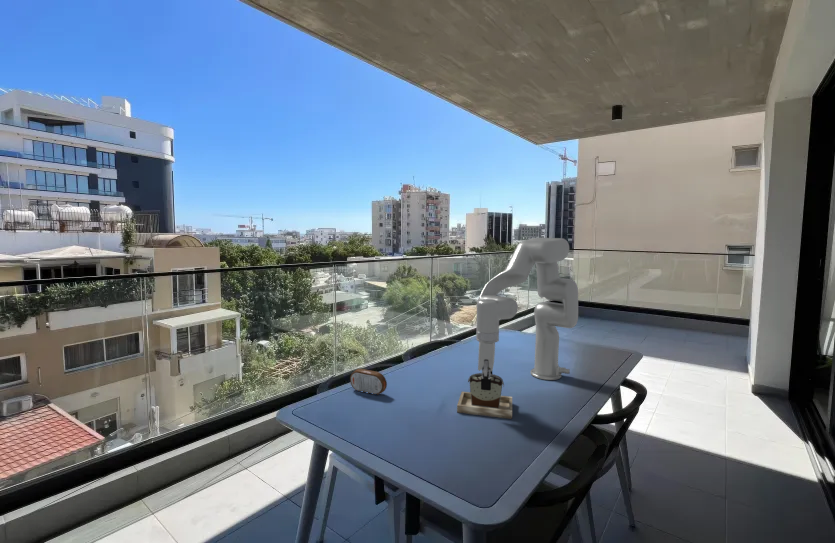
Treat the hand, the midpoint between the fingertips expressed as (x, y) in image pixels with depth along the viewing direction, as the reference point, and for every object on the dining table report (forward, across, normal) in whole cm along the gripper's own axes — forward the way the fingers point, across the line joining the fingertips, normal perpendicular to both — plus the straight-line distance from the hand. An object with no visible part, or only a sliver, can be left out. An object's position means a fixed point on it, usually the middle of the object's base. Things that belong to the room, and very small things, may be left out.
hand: (486, 384), depth 134 cm
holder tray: (+8, +1, 0) cm, 8 cm away
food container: (+8, -1, 0) cm, 8 cm away
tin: (+8, -1, -44) cm, 45 cm away
